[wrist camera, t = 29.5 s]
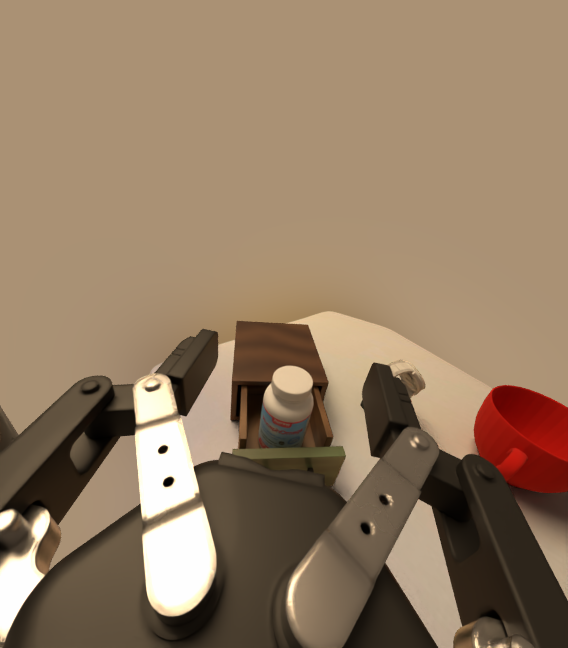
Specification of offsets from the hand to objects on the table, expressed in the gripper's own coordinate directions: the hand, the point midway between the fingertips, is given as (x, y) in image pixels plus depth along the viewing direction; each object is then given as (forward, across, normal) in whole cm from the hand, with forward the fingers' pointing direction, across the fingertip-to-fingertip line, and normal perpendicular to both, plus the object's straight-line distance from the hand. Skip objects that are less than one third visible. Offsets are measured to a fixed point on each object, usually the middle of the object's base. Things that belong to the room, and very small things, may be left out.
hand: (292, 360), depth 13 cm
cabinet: (+24, -3, -25) cm, 35 cm away
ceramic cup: (+15, +33, -25) cm, 44 cm away
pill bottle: (+11, 0, -23) cm, 26 cm away
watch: (+21, +16, -25) cm, 37 cm away
